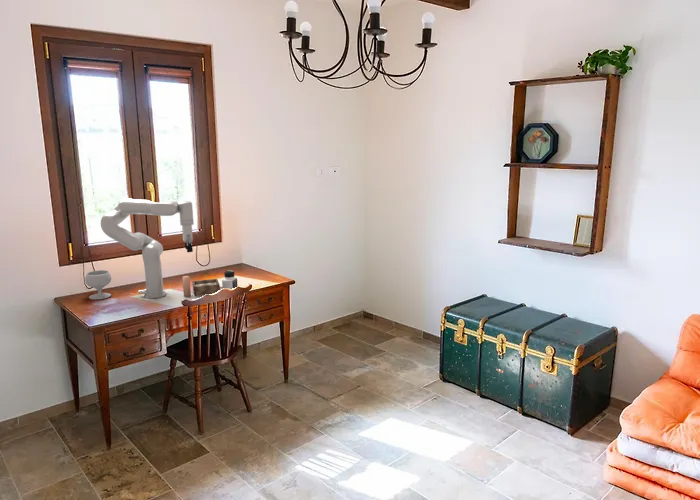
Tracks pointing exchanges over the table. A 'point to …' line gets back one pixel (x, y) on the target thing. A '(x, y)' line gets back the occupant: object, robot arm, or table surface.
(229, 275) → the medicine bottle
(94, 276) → the chalice
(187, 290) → the peg
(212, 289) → the bore box
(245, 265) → the table surface
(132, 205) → the robot arm
